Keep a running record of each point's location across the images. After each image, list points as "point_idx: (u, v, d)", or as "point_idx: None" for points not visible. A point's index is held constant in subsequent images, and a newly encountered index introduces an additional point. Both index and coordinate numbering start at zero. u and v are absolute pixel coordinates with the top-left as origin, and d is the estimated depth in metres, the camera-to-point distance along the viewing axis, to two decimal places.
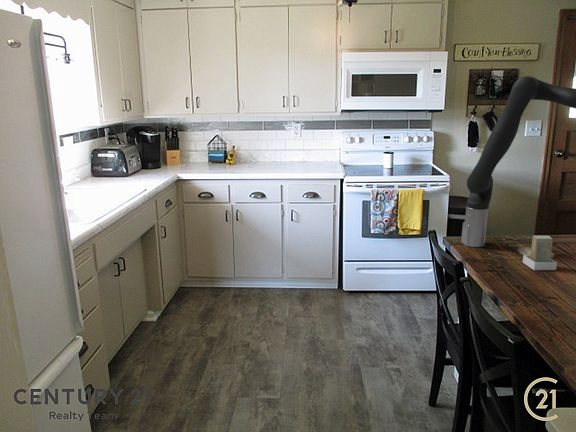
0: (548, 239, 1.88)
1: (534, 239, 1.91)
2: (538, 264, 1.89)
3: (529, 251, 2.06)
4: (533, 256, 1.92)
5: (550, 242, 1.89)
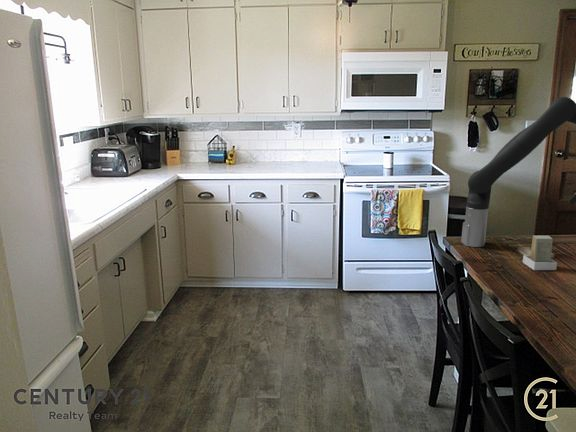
0: (548, 239, 1.88)
1: (534, 239, 1.91)
2: (538, 264, 1.89)
3: (529, 251, 2.06)
4: (533, 256, 1.92)
5: (550, 242, 1.89)
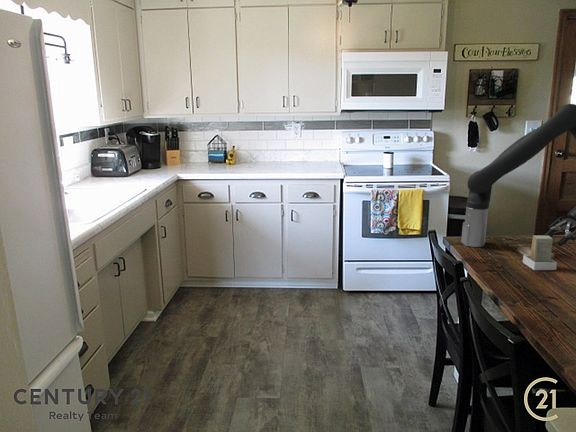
0: (548, 239, 1.88)
1: (534, 239, 1.91)
2: (538, 264, 1.89)
3: (529, 251, 2.06)
4: (533, 256, 1.92)
5: (550, 242, 1.89)
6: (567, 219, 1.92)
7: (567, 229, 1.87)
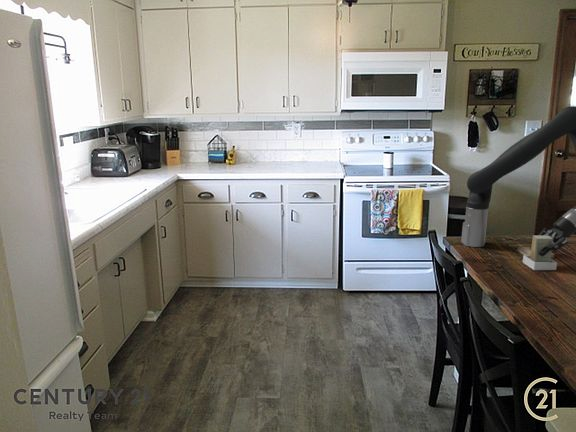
0: (548, 239, 1.88)
1: (534, 239, 1.91)
2: (538, 264, 1.89)
3: (529, 251, 2.06)
4: (533, 256, 1.92)
5: None
6: (553, 228, 1.93)
7: None
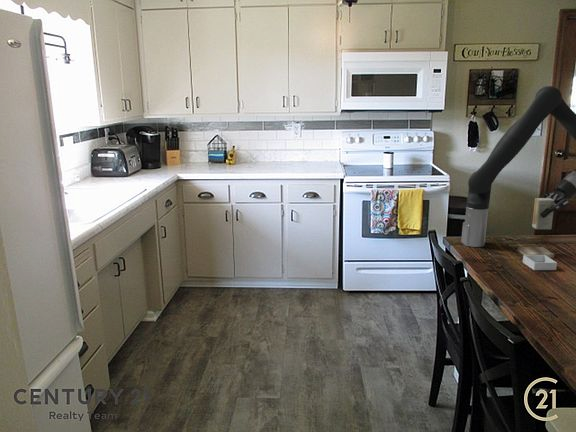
0: (550, 200, 1.93)
1: (536, 201, 1.96)
2: (538, 264, 1.89)
3: (529, 251, 2.06)
4: (535, 218, 1.97)
5: None
6: (555, 191, 1.97)
7: (552, 201, 1.93)
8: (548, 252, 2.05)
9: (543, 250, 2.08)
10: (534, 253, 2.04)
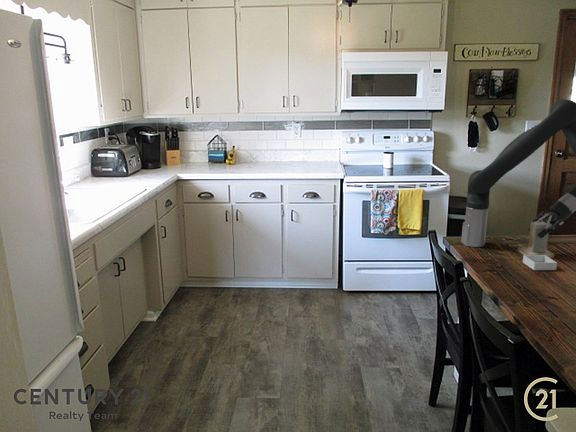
0: (545, 225, 2.02)
1: (532, 225, 2.04)
2: (538, 264, 1.89)
3: (529, 251, 2.06)
4: (531, 241, 2.05)
5: None
6: (549, 212, 2.06)
7: (548, 222, 2.01)
8: (548, 252, 2.05)
9: None
10: (534, 253, 2.04)
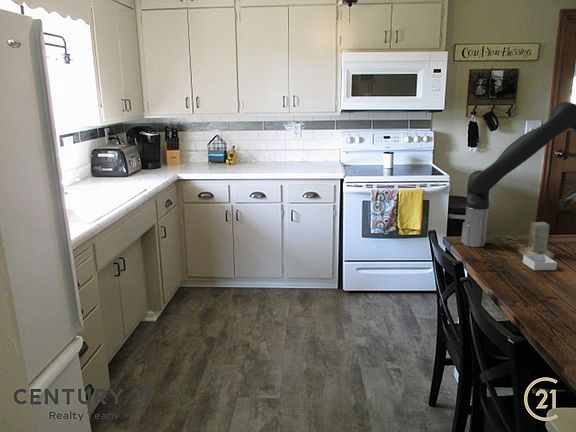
0: (545, 225, 2.02)
1: (532, 225, 2.04)
2: (538, 264, 1.89)
3: (529, 251, 2.06)
4: (531, 241, 2.05)
5: (547, 228, 2.02)
6: None
7: None
8: (548, 252, 2.05)
9: None
10: (534, 253, 2.04)
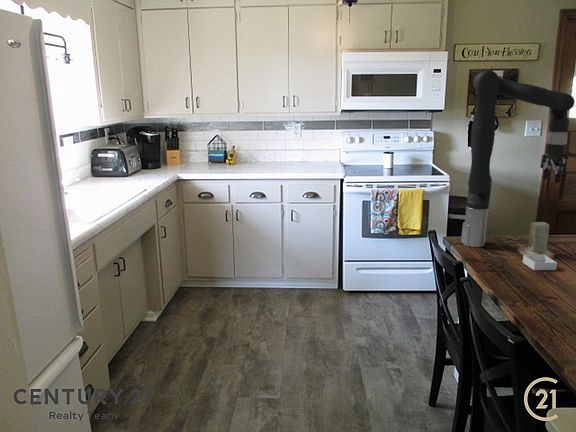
0: (545, 225, 2.02)
1: (532, 225, 2.04)
2: (538, 264, 1.89)
3: (529, 251, 2.06)
4: (531, 241, 2.05)
5: (547, 228, 2.02)
6: (548, 155, 2.07)
7: (553, 166, 2.03)
8: (548, 252, 2.05)
9: None
10: (534, 253, 2.04)
